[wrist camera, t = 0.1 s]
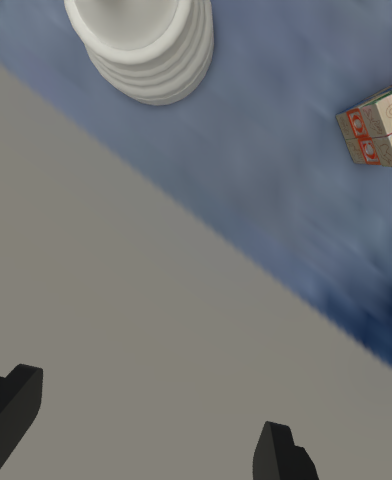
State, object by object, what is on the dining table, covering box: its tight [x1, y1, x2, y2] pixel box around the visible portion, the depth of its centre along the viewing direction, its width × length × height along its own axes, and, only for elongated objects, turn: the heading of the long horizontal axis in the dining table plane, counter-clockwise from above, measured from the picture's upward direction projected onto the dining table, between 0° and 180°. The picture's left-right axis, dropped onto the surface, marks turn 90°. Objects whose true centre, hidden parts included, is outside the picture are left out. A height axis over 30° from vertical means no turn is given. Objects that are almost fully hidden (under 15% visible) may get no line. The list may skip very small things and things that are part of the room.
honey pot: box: [64, 0, 214, 106], centre depth 25 cm, size 13×13×18 cm
